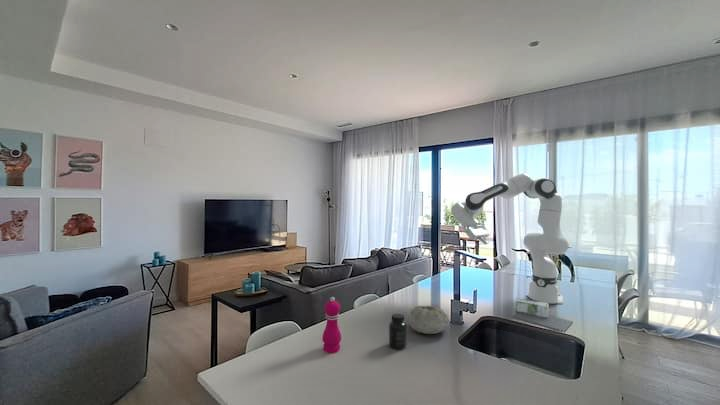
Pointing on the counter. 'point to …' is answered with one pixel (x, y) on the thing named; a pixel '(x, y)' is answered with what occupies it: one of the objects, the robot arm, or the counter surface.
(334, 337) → the pepper mill
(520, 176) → the robot arm
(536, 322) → the charcoal mat
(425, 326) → the decorative shell
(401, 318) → the supplement bottle
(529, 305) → the syrup box
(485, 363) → the counter surface
